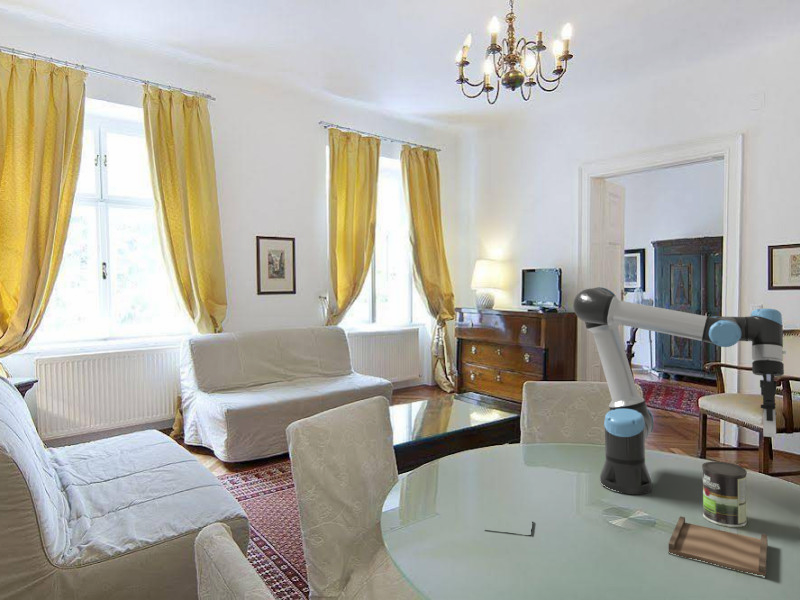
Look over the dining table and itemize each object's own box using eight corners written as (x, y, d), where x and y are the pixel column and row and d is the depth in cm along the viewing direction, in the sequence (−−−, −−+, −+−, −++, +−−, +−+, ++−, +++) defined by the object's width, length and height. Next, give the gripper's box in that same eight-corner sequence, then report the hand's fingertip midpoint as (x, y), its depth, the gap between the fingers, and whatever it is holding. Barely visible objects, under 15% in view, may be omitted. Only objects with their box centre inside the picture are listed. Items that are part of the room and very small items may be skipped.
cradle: (765, 578, 113) (765, 566, 113) (668, 553, 124) (668, 543, 124) (767, 545, 126) (767, 534, 126) (680, 525, 138) (680, 516, 138)
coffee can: (720, 529, 135) (719, 476, 135) (694, 512, 146) (693, 462, 145) (757, 526, 136) (756, 473, 136) (729, 509, 146) (728, 460, 146)
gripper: (785, 353, 140) (788, 434, 135) (781, 369, 159) (784, 439, 154) (751, 352, 144) (753, 430, 139) (752, 367, 164) (753, 436, 159)
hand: (769, 435), depth 147 cm, fingers open, 13 cm apart
